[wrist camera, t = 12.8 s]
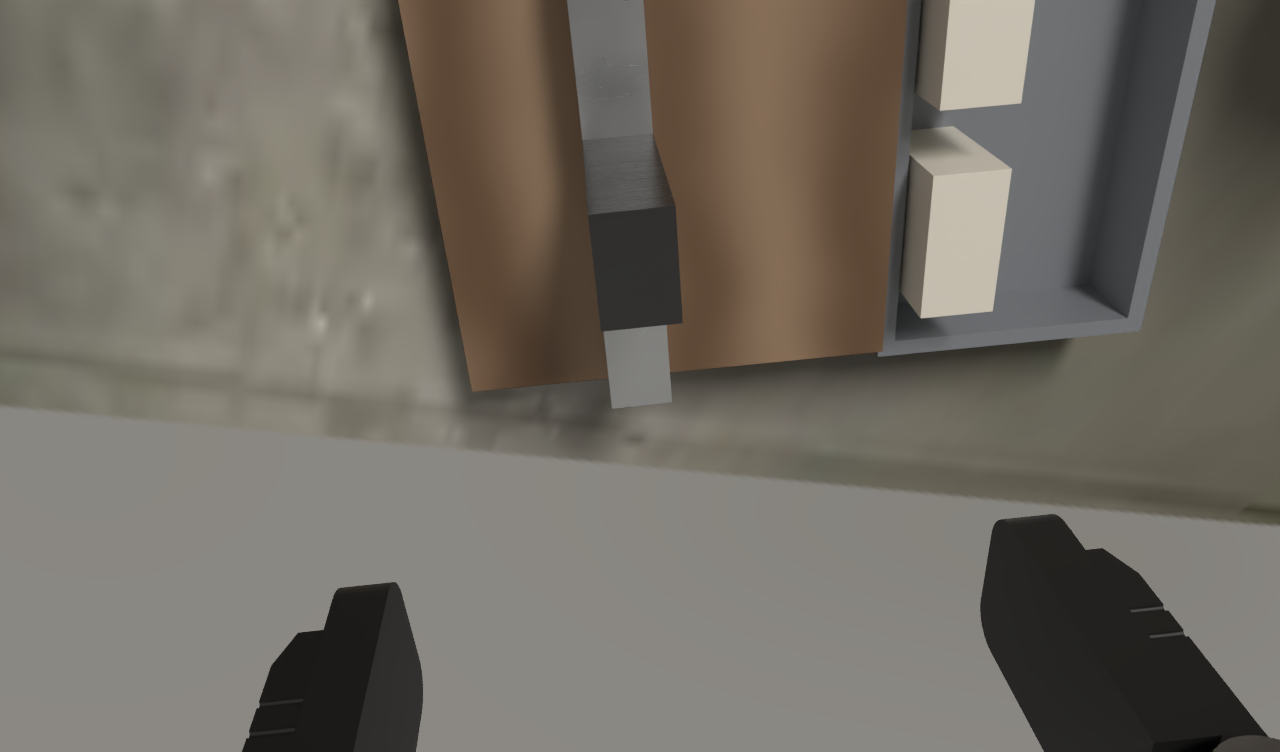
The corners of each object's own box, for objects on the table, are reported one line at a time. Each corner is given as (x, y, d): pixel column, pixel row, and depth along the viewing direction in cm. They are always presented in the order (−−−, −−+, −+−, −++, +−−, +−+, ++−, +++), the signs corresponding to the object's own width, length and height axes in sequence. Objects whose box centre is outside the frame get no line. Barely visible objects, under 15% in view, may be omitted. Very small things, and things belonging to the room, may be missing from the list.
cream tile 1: (940, 111, 28) (1021, 103, 28) (956, -72, 26) (1045, -80, 26) (889, 74, 32) (960, 68, 32) (899, -85, 30) (975, -92, 30)
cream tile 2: (920, 318, 32) (992, 311, 32) (933, 175, 29) (1012, 168, 29) (877, 260, 36) (940, 254, 36) (885, 132, 33) (953, 126, 33)
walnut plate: (480, 340, 37) (472, 392, 33) (399, -113, 29) (377, -107, 25) (852, 304, 37) (882, 351, 34) (876, -152, 29) (918, -151, 26)
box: (852, 315, 38) (877, 356, 35) (877, -171, 29) (913, -172, 26) (1094, 291, 38) (1140, 331, 35) (1189, -196, 29) (1261, -200, 26)
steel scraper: (607, 364, 33) (622, 524, 26) (556, -104, 26) (554, -79, 18) (663, 358, 33) (694, 516, 26) (628, -111, 26) (658, -89, 18)
